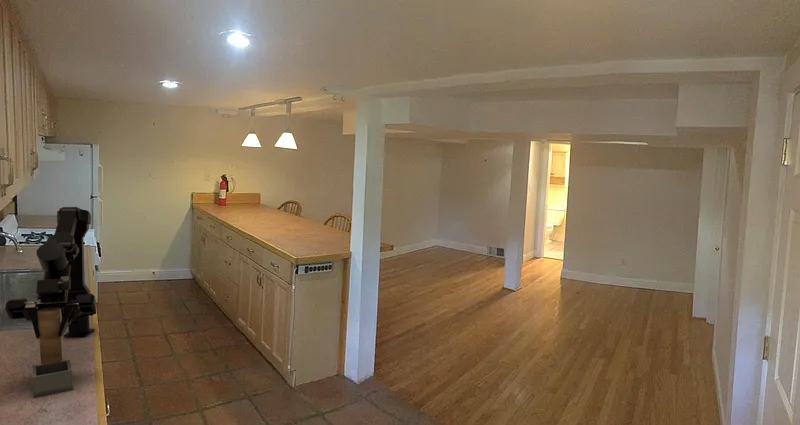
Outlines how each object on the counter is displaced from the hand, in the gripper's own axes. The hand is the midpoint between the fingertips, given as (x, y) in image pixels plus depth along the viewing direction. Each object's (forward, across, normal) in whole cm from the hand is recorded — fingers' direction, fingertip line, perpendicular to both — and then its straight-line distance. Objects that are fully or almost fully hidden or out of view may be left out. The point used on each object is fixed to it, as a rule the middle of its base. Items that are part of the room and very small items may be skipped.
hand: (48, 337), depth 128 cm
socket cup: (+9, 0, +10) cm, 13 cm away
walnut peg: (+4, 0, +6) cm, 7 cm away
